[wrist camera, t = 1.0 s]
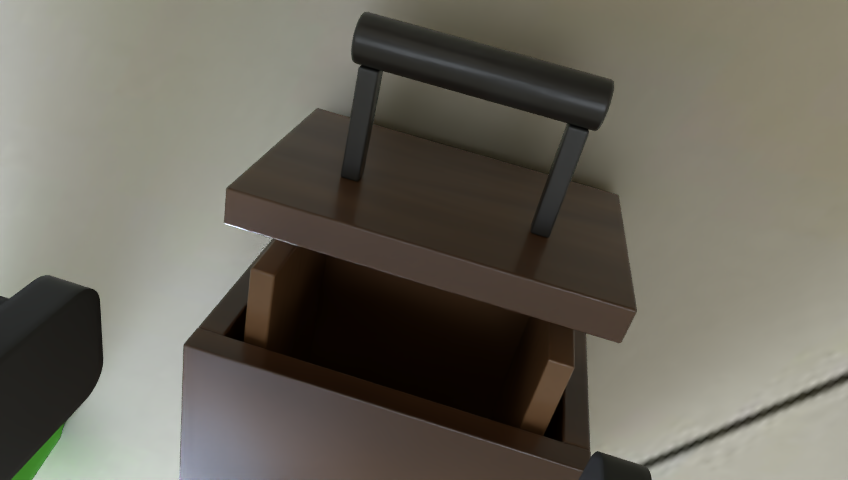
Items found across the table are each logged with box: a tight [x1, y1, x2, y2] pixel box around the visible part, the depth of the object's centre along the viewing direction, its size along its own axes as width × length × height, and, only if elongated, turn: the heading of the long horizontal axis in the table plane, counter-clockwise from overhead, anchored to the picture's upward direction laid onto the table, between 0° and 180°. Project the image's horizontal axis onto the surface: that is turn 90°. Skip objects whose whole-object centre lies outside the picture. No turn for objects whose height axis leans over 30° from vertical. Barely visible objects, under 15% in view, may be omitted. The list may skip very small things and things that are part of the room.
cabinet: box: [179, 239, 591, 480], centre depth 27 cm, size 15×13×9 cm
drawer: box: [224, 12, 637, 436], centre depth 23 cm, size 18×12×7 cm, turn 168°
